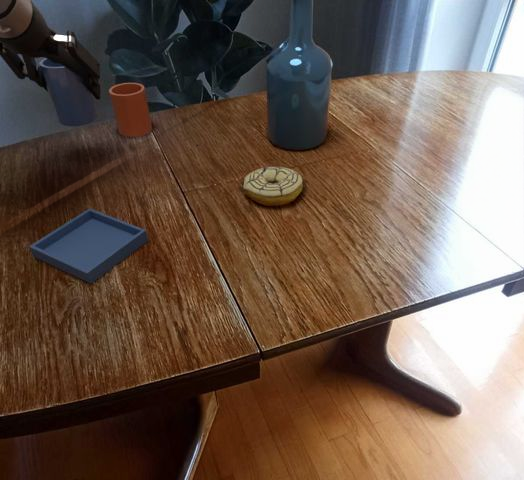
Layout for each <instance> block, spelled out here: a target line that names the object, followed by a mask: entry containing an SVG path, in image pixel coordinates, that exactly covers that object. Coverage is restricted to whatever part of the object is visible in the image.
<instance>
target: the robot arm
mask: <svg viewBox="0 0 524 480" xmlns="http://www.w3.org/2000/svg"><path fill="white" fill-rule="evenodd" d="M20 55H21V56H22V58H21V57H20ZM0 57H1V58H2V59H3V61H4V62H5V63H6V65H7V66H8V68H10V70H11V71H12V73H13V74H14V75H15V76H16V77H17V78H18V79H20V80H25V79H26V78H28V79H29V80H30V81H32V82H34V83H35V84H36V85H37V86H38V87H40V88H43V89H44V90H45V91H46V92H47V93H48V90H47V87H46V84H45V81H44V78H43V75H42V72H41V69H40V66H37V61H36V59H39V58H43V59H45V58H47V59H48V60H50V61H52V62H53V63H55V64H57V63H60V64H61V65H63V66H64V67H66V68H67V69H69V70H71V71H72V72H74V73H75V74H77V75H78V76H80V77H82V82H83V83H84V85H85V86H86V87H87V88H88V90H89V91H90V92H91V94H92V97H93V98H95V99H96V100H101V84H100V82H99V79H101V63H100V62H99V61H98V60H97V59H96V57H94V56H93V55H92V53H91V52H89V50H88V49H87V48H86V47H85V46H84V45H83V44H82V43H81V42H80V41H79V40H78V38H77V36H76V34H75V32H74V31H73V30H67V31H66V35H62V34H57V32H56V31H55V30H54V29H52V28H50V27H49V25H48V23H47V22H46V19H45V18H44V15H43V14H42V13H41V11H40V10H39V9H38V7H37V6H36V5H35V3H34V2H33V1H32V0H0Z"/></svg>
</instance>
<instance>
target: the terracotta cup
mask: <svg viewBox="0 0 524 480" xmlns="http://www.w3.org/2000/svg"><path fill="white" fill-rule="evenodd" d="M108 93H109V98H110V102H111V106H112V110H113V115H114V118H115V122H116V127H117V130H118V134H120V135H121V136H123V137H127V138H139V137H143V136H146V135H147V134H149V133H151V132H152V131H153V125H152V124H153V123H152V120H151V119H152V118H151V114H150V108H149V105H148V99H147V93H146V87H145V86H144V85H143V84H142V83H138V82H124V83H119V84H118V83H117V84H115V85H113V86H111V87H110V88H109V89H108ZM152 138H153V137H151V138H149V139H147V140H146V141H144V143H146V142H148V141H150V140H152Z"/></svg>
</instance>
